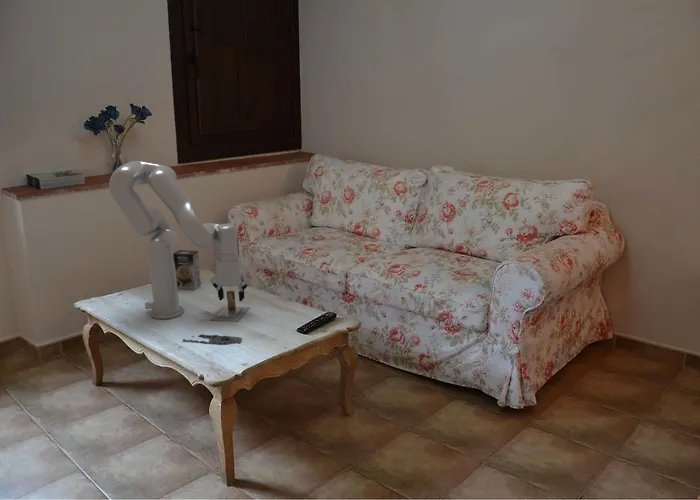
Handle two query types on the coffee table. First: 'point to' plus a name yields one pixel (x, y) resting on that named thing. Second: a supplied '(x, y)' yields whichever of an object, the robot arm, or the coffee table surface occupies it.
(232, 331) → the coffee table surface
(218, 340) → the driftwood
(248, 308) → the mat
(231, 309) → the trowel
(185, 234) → the robot arm
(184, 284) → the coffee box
